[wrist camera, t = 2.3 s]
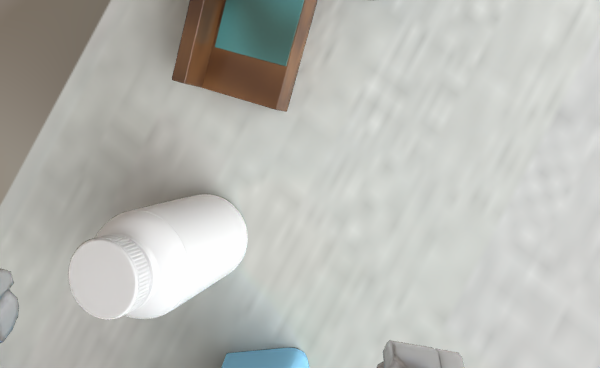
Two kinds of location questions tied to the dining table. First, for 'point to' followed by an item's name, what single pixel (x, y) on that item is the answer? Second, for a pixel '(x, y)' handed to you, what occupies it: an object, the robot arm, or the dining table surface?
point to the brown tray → (245, 48)
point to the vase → (267, 359)
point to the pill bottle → (157, 257)
